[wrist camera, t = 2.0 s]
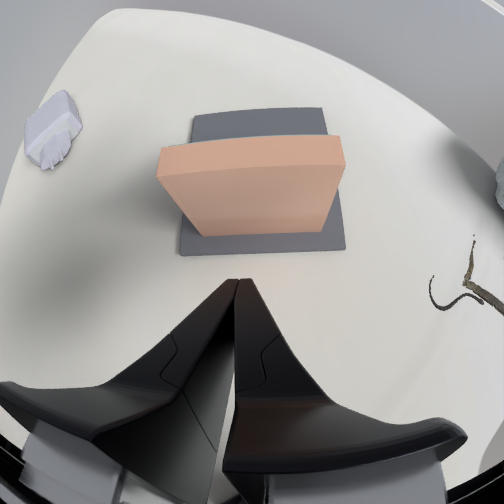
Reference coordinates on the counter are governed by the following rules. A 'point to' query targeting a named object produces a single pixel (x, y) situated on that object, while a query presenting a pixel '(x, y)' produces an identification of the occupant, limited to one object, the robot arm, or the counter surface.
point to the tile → (254, 182)
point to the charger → (51, 130)
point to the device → (500, 184)
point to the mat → (251, 126)
